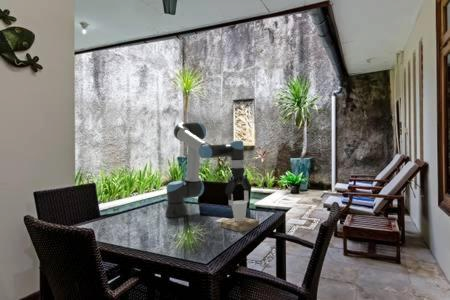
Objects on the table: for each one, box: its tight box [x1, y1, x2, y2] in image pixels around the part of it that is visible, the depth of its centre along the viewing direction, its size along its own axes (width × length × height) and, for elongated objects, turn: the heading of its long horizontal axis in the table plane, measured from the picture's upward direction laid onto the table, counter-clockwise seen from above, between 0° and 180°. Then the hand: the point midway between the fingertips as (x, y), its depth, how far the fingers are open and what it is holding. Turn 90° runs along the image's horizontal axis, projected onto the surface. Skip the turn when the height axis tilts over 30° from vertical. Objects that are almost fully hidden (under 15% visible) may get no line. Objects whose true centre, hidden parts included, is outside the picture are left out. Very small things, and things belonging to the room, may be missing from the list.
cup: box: [231, 200, 249, 222], centre depth 176 cm, size 10×10×11 cm
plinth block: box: [220, 217, 260, 233], centre depth 176 cm, size 16×16×3 cm
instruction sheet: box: [214, 217, 230, 223], centre depth 189 cm, size 12×9×1 cm
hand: (238, 203), depth 176 cm, fingers open, 13 cm apart
